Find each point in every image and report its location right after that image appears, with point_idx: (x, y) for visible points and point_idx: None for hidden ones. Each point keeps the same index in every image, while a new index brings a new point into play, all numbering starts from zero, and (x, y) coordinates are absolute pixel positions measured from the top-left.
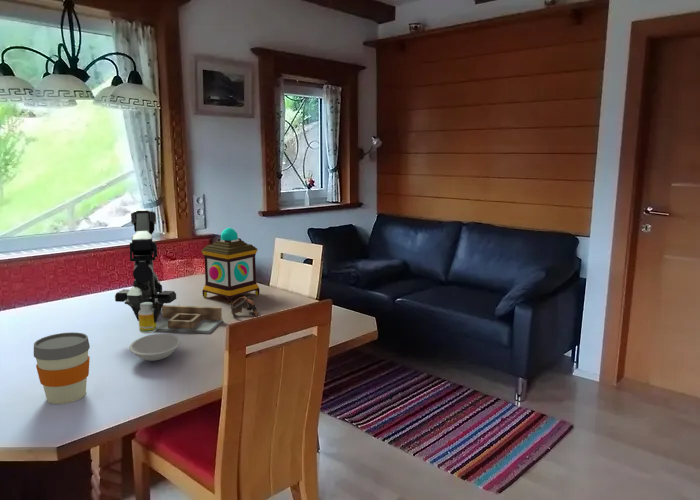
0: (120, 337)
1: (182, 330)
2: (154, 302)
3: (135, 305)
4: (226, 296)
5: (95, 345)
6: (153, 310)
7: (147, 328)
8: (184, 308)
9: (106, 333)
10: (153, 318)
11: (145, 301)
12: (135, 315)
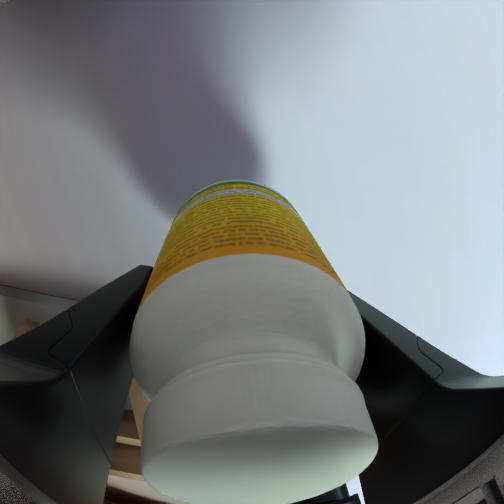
0: (405, 228)
1: (60, 305)
2: (12, 469)
3: (438, 413)
4: (104, 501)
5: (486, 119)
6: (137, 373)
7: (217, 191)
8: (130, 467)
9: (457, 285)
10: (150, 278)
11: (329, 492)
12: (382, 314)
